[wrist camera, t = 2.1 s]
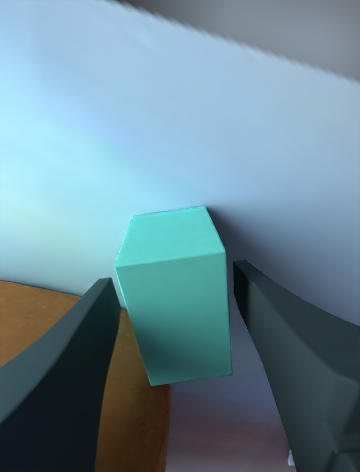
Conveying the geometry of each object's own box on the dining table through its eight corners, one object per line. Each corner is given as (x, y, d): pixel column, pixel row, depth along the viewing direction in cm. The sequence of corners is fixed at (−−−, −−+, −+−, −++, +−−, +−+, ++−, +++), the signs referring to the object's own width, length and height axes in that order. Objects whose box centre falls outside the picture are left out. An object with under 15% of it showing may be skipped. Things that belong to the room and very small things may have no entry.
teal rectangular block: (213, 303, 15) (232, 376, 11) (155, 310, 15) (150, 386, 11) (205, 205, 12) (226, 250, 8) (132, 215, 12) (112, 266, 8)
